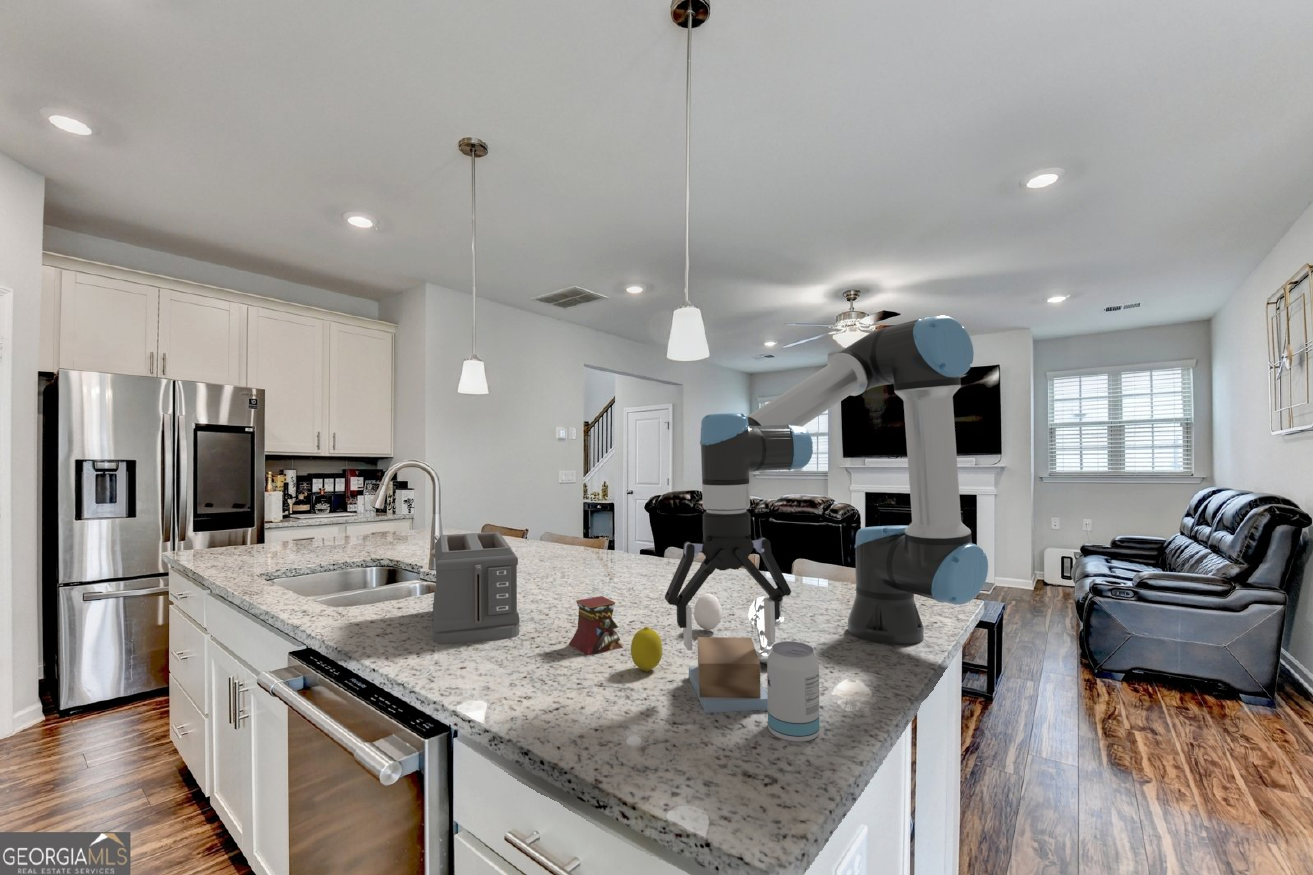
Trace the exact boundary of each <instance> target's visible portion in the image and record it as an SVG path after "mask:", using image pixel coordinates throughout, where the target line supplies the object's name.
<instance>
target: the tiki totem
mask: <svg viewBox="0 0 1313 875" xmlns="http://www.w3.org/2000/svg"><path fill="white" fill-rule="evenodd" d="M575 602H576V604H577V606H578V617H577V628H576V630H575V633H574V634H573V637H572V638H571V640H570V641H569V643H568V645H569V646H571V647H572V648H574V649H575V650H577V651H579V652H581V653H583V654H585V655H586V656H591V655H596V654H601V653H605V652H609V651H614V650H618V649H623V648H624V646H623V644H622V643H621V641H620V640H621V639H620V636H619V634H618V633H617V632H616V630H615V629H618V628H619V626H618V624H617V623H616V621H614V619H613V613H614V609H615V606H616V602H615V601H613V600H612V599H609V598H607V597H604V596H603V595H600V596H594V597H589V598H588V597H587V598H584V599H579V600H578V599H577V600H575Z"/></svg>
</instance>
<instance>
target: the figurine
mask: <svg viewBox="0 0 1313 875" xmlns="http://www.w3.org/2000/svg"><path fill="white" fill-rule="evenodd" d="M764 597H765V596H761V597H756V598H755V599H754V600H753V602H752V604H751V605H750V607H749V610H748V620H749V621H750V628H751V631H752V633H753V632H755V633H756V634H757V637H758V642H761V643H760V645H759V648H758V649H757V650H756V653H757V656H758V659H759V662H760V664H765V665H767V658H768V656H769V654H770V653H771V651H772V646H773V645H774V644H776V643H777V642H774V643H771V642H770V641H768V640H767V639H766V638H765V627H764ZM783 601H784V596H783V597H782V601H780V618H779V620H775V628H776V627H778V629H780V625H781V624H782V623H783V622H784V621H785V618H784V616H782V615H781V614H782V613H785V611H784V610H783V608H785V606H783ZM781 612H782V613H781ZM753 627H754V628H753ZM753 630H754V631H753ZM776 640H777V639H776V637H775V641H776Z"/></svg>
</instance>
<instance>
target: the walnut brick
mask: <svg viewBox="0 0 1313 875" xmlns="http://www.w3.org/2000/svg"><path fill="white" fill-rule="evenodd" d="M756 651H757V650H756V648H755V644H754V641H753V639H752V637H744V636H743V637H742V636H741V637H738V636H737V637H733V636H731V637H729V636H728V637H723V636H722V637H721V636H718V637H717V636H715V637H714V636H713V637H712V636H710V637H709V636H708V637H707V636H697V666H698V674H699V693H700V697H719V698H761V693H760V683H761V662H759V659H758V656H757V653H756Z"/></svg>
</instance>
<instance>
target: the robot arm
mask: <svg viewBox="0 0 1313 875" xmlns="http://www.w3.org/2000/svg"><path fill="white" fill-rule="evenodd" d="M974 353H975V352H974V346H973V341H972V338H971V337H970V334H969V333H968V331H967V330H966V328H965V327H964V326H962V324H961V323H960V322H959V321H958V320H957V319H955V318H953V317H951V316H947V315H936V316H929V317H928V316H927V317H921V318H918V319H914V320H912V321H906V322H903V323H899V324H896V325H891V326H885V327H881V328H879V329H876V330H874V331H872V332H870V333H867V335H865V336H863V337H861V338H859V339H858V340H856V341H854V342H853V343H851V344H850V345H848V346H847V347H845V348H844V349H842V350H841V351H839V352H837V353H836V354H834V355H833V356H832V357H831V358H830V360H829V363H828V365H826V366H825V367H823V368H821V369H820V370H818V371H817V372H815V373H813V374H812V375H810V376H808V377H807V378H806V379H804V380H802V381H800V382H799V383H797V384H796V385H794V386H793V387H791V388H789V389H787V390H786V391H785V392H783V393H781V394H780V395H779V396H777V397H775V398H774V399H772V400H771V401H769V402H767V403H766V404H764V405H762V406H761V407H759V408H758V409H756V410H754V411H753V412H751V413H749V414H748V415H746V414H745V413H735V412H734V413H733V412H731V413H711V414H706V415H705V416H703V418H702V419H701V421H700V425H701V426H700V439H699V440H700V441H699V445H700V454H701V455H700V459H701V480H702V481H701V482H702V484H701V486H702V487H701V488H702V492H701V495H702V508H703V510H704V509H705V510H706V511H703V514H702V534H703V535H702V536H703V537H702V542H701V543H691V542H690V541H685V542H684V543H683V547H682V549H683V551H682V552H683V553H682V556H681V559H680V561H679V563H678V566H677V568H676V571H675V572H674V574H673V577H672V579H671V581H670V583H669V586H668V588H667V590H666V592H665V594H664V600H665V601H666V602H667V603H668V605H669V606H676V623H677V626H678V627H679V628H680V629H682V630H683V646H684V647H685V649H686V650H687V651H693V621H692V620H693V617H692V612H693V611H692V607H691V606H690V605H689V603H690V602H691V601H692V599H693V598H694V597H695V596H696V594H697V592H698V591H699V590H700V589H701V587H702V586H703V585H704V583H705V582H706V580H707V579H708V578H709V576H711V575H712V574H713V573H714V572H715V570H718V571H727V570H740V568H741V567H743V569H744V570H746V571H747V573H748V574H749V576H751V577H752V578H753V579H754V580H755V582H756V583H757V584H758V585H759V587H761V589H762V590H763V591H764V592H765V593H766V594H767V595H768V596H763V597H764V627H765V638H766V639H767V640H768V641H770V642H771V643H776V640H775V638H776V627H775V620H778V621H779V618H780V601H782V597H783V598H784V597H785V596H788V597H789V596H790V595H791V593H792V590H791V588H790V586H789V584H788V582H787V580H786V578H785V577H784V574H783V572H782V570H781V569H780V567H779V565H778V563H777V561H776V559H775V557H774V555H773V552H772V546H771V541H770V540H769V539H767V538H765V537H763V536H761V537H759V538H758V539H755V540H752V538H751V530H752V529H751V513H749V512H750V511H748V509H749V508H751V498H750V473H751V472H761V471H763V472H767V471H771V472H772V471H790V472H791V471H792V470H797V469H799V470H800V469H802V468H805V467H806V466H807V465H808V464H809V462H810V461H811V459H812V457H813V452H814V449H813V448H814V446H813V438H812V436H811V434H810V433H809V431H808V430H807V429H806V428H805V427H804V426H806V425H807V424H808V423H810V422H812V421H813V420H814V419H815V418H818V417H819V416H820V415H822V414H823V413H825V412H827V411H828V410H830V409H831V408H833V407H834V406H837V404H839V403H840V402H842V401H843V400H844V399H846V398H847V397H849V396H853V397H856V396H859V395H861V394H863V393H864V392H866V391H868V390H870V389H873V388H876V387H880V386H885V385H893V391H894V393H895V395H897V396H898V397H899V398H900V399H901V400H902V401H903V410H904V412H903V413H904V423H905V424H904V425H905V426H904V428H905V439H906V440H905V441H906V453H907V468H908V483H909V494H910V508H911V509H910V510H911V522H910V523H909V525H902V524H901V525H881V526H879V525H877V526H868V527H867V526H866V527H862V528H860V529H858V530H857V531H856V534H855V544H854V556H855V557H854V559H855V562H854V564H855V591H856V592H855V598H854V600H853V604H852V606H851V609H850V613H849V616H848V619H847V631H848V633H849V634H850V635H851V636H853V637H854V638H857V639H860V640H862V641H866V642H870V643H874V644H879V645H880V644H881V645H892V646H909V645H914V644H918V643H920V642H922V641H923V640H924V639H925V637H924V636H925V634H924V632H925V630H924V629H925V628H924V625H923V621H922V619H921V616H920V613H919V610H918V607H917V605H916V601H915V595H916V596H920V597H924V598H926V599H929V600H930V599H931V600H934V601H936V602H938V603H942V604H943V603H947V604H951V605H956V606H957V605H958V606H960V605H965V604H968V603H970V602H971V601H973V600H974V599H975V598H977V596H978V595H979V594H980V592H981V591H982V589H983V588H984V586H985V584H986V581H987V579H988V578H987V577H988V573H989V561H988V557H987V554H986V553H985V552H984V550H983V548H981V547H980V546H978V545H977V544H975V543H973V542H972V531H971V529H970V528H969V527H967V526H966V525H965V524H964V523H963V522H962V513H961V500H960V499H961V498H960V486H959V484H960V483H959V473H958V472H959V471H958V468H959V467H958V458H957V456H958V455H957V443H956V442H957V440H956V439H957V438H956V431H955V430H956V428H955V426H956V425H955V414H954V413H955V412H954V398H953V397H954V395H955V394H956V393H957V392H958V390H959V389H960V388H961V386H962V383H961V377H963V376H964V375H965V374H967V373H968V371H969V370H970V369H971V368H972V366H971V365H973V361H974ZM754 549H755V552H757V553H759V554H760V557H761V558H762V560H763V563H764V564H765V567H766V569H767V570H768V572H769V574H770V576H771V578H772V580H773V582H774V583H775V586H776V588H775V587H774V586H773V585H772V584H771V583H770V581H769V580H768V579H767V578H766V577H765V576H764V575H763V574H762V572H761V571H760V569H758V568H757V567H756V565H755V563H753V561H752V560H751V559H750V558H749V556H751V553H753V550H754ZM700 552H701V553H702V554H703V555H704V556H705V557H704V559H703V561H702V562H701V564H700V565H699V568H698V569H697V570H696V572H694V574H693V576H692V577H691V578H690V580H689V581H688V582H687V583H686V585H685V586H684V588H683V585H684V583H685V581H686V579H687V577H688V574H689V571H690V570H691V568H692V565H693V562H694V560H695V559H694V558H697V557H698V556H699V553H700Z"/></svg>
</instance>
